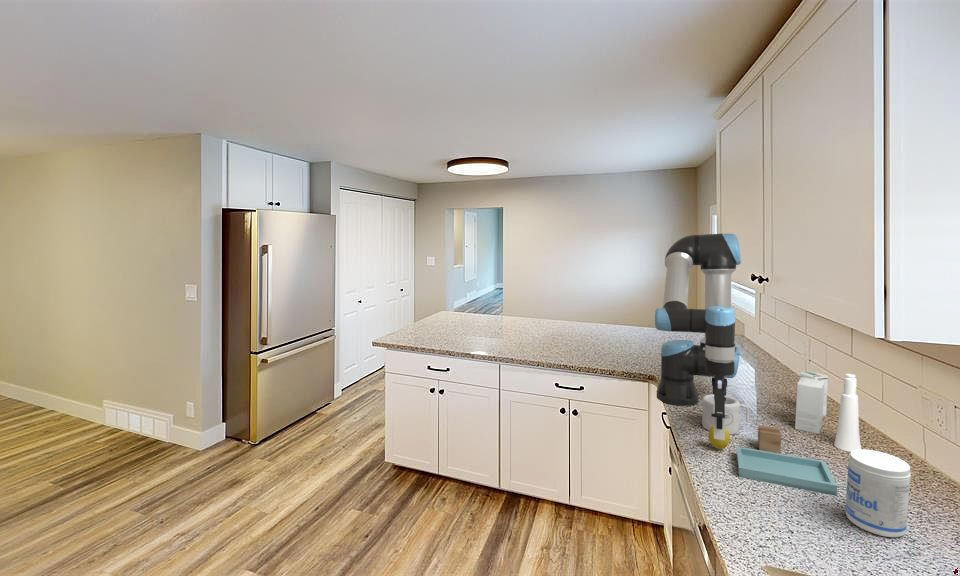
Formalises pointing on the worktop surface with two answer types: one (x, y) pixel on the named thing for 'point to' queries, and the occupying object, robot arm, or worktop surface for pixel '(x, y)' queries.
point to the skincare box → (809, 405)
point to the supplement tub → (878, 492)
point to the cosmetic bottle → (848, 417)
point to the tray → (786, 470)
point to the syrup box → (819, 377)
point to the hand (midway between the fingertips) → (718, 430)
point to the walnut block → (769, 439)
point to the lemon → (717, 442)
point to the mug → (730, 413)
